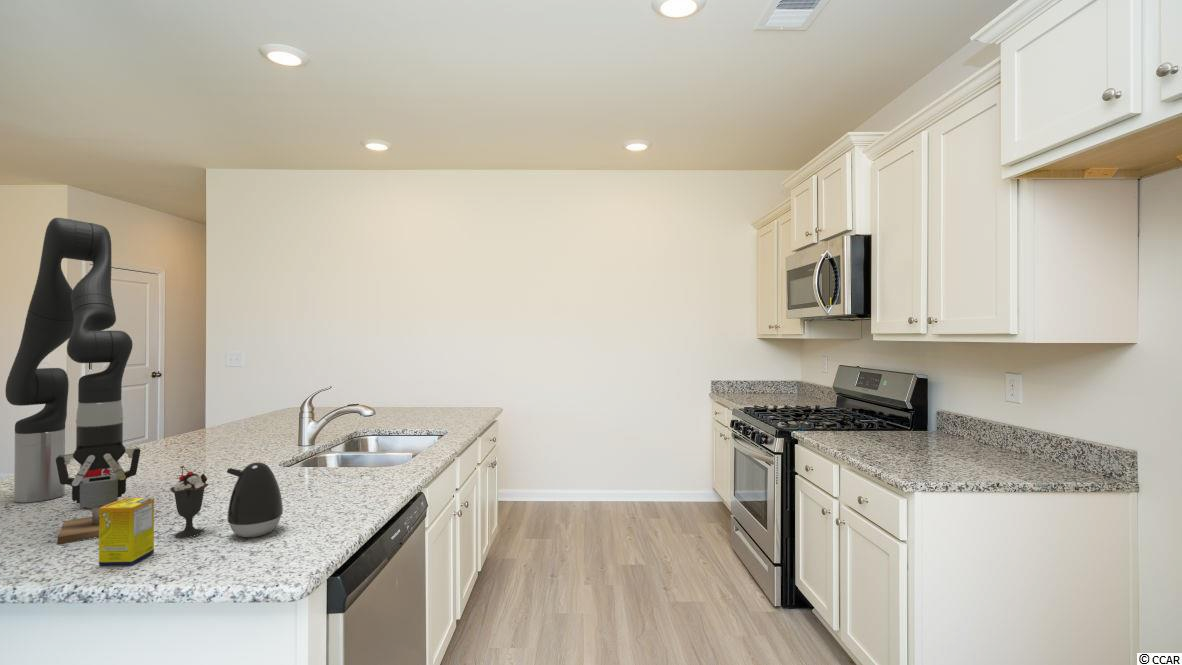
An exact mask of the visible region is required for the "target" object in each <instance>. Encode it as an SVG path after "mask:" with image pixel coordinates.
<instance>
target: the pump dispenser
mask: <svg viewBox="0 0 1182 665" xmlns="http://www.w3.org/2000/svg"><path fill="white" fill-rule="evenodd" d="M226 473H228V474H230V475H232V476H235V477H237V480H236V482H235V484H234V486H233V488H232V491H231V493H230V494H231V495H230V499H229V503H228V510H227V514H226V517H227V518H226V520H227V523H229V527H230V529H231V531H232V532H233V533H234V534H235V535H237V536H239V537H241V538H242V537H243V538H257V537H260V536H261V537H262V536H264V535H267V534H269V533H270V532H272V531H273V530H274V529H275V528H276V527H277V526H278V524H279V522H280V521H281V517H282V515H283V513H284V506H283V499H282V493H281V489H280V486H279V483H278V481H277V478H276V476H275V474H274V472H273V471H272V469H271V468H270V467H269V466H268V464H266V463H264V462H261V461H260V462H259V461H258V462H256V461H255V462H252V463H249V464H248V465H246V466H245V467H244V468H243V469H236V468H232V467H229V468H228V469H227V470H226Z"/></svg>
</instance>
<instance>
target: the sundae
mask: <svg viewBox="0 0 1182 665" xmlns="http://www.w3.org/2000/svg"><path fill="white" fill-rule="evenodd" d="M179 468H180V469H182V470H181V475H180V476H179V478H178V481H177V482H176V483H175V484H174V486H172V487H170V488H169V490H170V492H171V493H173V494H174V500H175V506H176V512H177V514H178V515H179V516H180V517H181V518H184V519H185V527H184V529H183V530H181V531H179V532H177V533H175V534H174V537H175V536H176V537H188V538H191V537H190V536H193V537H195V536H194V535H197V534H199V535H201V534H202V533H203V532H204V530H203V529H201V528H196V527H195V526H194V525H193V524H194V523H193V518H194V517H195V516H197V514H199V513H200V511H201V509H202V506H203V500H204V494H205V489H206V488H207V487H208V486H209V483H207V482H208V477H207V475H206V474H205V473H202V474H201V475H199V474H197V473H194V472H193V471H189V470H188V469H187V468H185V466H184V465H182V466H181V465H180V466H179ZM184 470H185V471H186V472H187V473H186V474H184ZM183 474H184V475H183ZM201 532H202V533H201ZM200 533H201V534H200ZM197 536H198V535H197ZM176 537H175V538H176Z"/></svg>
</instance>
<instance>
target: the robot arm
mask: <svg viewBox="0 0 1182 665" xmlns="http://www.w3.org/2000/svg"><path fill="white" fill-rule="evenodd" d="M41 250H42V251H41V257H40V264H39V269H38V273H37V274H38V275H37V279H36V282H35V285H34V290H33V293H32V296H31V299H30V302H29V306H28V309H27V313H26V318H25V321H24V327H23V330H22V331H23V332H22V337H21V340H20V343H19V347H18V351H17V353H16V355H15V358H14V361H13V363H12V366H11V368H10V371H9V374H8V377H7V379H6V383H5V398H6V401H7V402H8V403H9V404H10V405H13V406H19V407H21V406H35V405H44V406H43V408H42V409H41V410H39V411H38V412H36V413H34V414H33V415H31V416H28V417H24V418H22V419H19V420H18V421H16V422H15V424H14V474H13V475H14V480H13V482H14V484H13V487H14V490H13V493H14V494H13V495H14V496H13V497H14V498H13V501H14V502H15V503H35V502H41V501H48V500H53V499H56V498H59V497H62V496H64V495H65V494H66V485H69V486H71V499H72V501H73V502H75V501H76V504H80V482H81V480H82V478H83V477H84V475H85V474H86V472H87V470H90V471H91V470H96V469H108V468H110V467H111V469H112V470H113V471H114V473H115V474H116V475H117V477H118V498H123V496H122V495H124V494H126V493H127V479H129V478H130V477H134V476H136V475H137V472H138V466H139V462H140V461H139V460H140V455H141V448H140V447H138V446H136V447H134V448H131V447H130V448H128V447H125V445H124V444H123V443H124V442H123V438H124V436H123V434H124V431H123V429H124V426H123V425H124V423H123V422H124V412H123V411H124V409H123V404H122V391H123V390H122V389H123V388H122V382H123V377H124V373H125V369H126V367H127V364H128V362H129V358H130V356H131V353H132V350H133V344H134V343H133V340H132V337H131V336H130V335H129V334H128V333H127V332H125V331H123V330H108V329H110V328H111V327H113V326H114V325H115V324H116V321H117V314H116V310H115V304H114V300H113V294H112V239H111V235H110V232H109V229H107V227H106V226H104V225H101V224H97V223H93V222H87V221H81V220H76V219H71V218H66V217H65V218H64V217H54V218H52V219H51V220H50V221H49V223H48V224H47V226H46V229H45V233H44V238H43V245H42V249H41ZM63 259H70V260H77V261H85V262H92V267H91V269H90V270H89V272H87V273H86V274H85V275H84V276H83V277H82V278H81V279H80V280H79V281H78V282H77V283H76V285H75V286H74V288H72V287H71V285H70V283H69V282H68V280H67V279H66V278H67V277H66V276H65V274H64V271H63V269H62V261H63ZM67 340H68V341H67ZM66 342H67V345H66V354H67V355H68V357H69V358H70V359H71V360H72V361H73V362H76V363H78V364H97V363H98V364H99V363H100V364H101V363H103V364H105V363H106V364H107V363H109V364H108V367H106V369H104V370H102V371H99V372H95V373H90V374H85V375H82V376H81V377H80V378H79V379H78V386H77V387H78V388H77V389H78V390H77V392H78V394H77V396H78V397H77V400H78V402H77V410H76V419H75V425H76V429H75V430H76V437H75V438H76V441H75V442H76V443H75V446H76V448H75V451H73V453H70V454H69V453H68V454H66V423H67V417H68V416H67V414H68V400H69V388H70V386H69V385H70V384H69V383H70V381H69V377H68V376H69V375H68V373H67V372H66V371H65V370H64V369H63V368H61V367H47V368H46V367H43V368H40V367H39V366H40V364H41V363H42V362H43V360H44V359H45V358H46V357H48V356H49V355H50V354H51V353H52V352H54V351H55V350H57V348H59V347H60V346H62V345H63V344H64V343H66ZM124 454H127V457H128V459H131V462H130V467H129V470H124V469H123V467H122V466H121V464H120V462H119V461H120V459H121V458H122V457H123V455H124ZM71 460H75V461H76V462H77V463H78V464H79V465H80V466H81V465H82V466H81V468H80V467H79V469H78V471H77V473H76V475H75V477H70V476H69V472H68V467H67V466H68V465H70V464H71Z"/></svg>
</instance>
